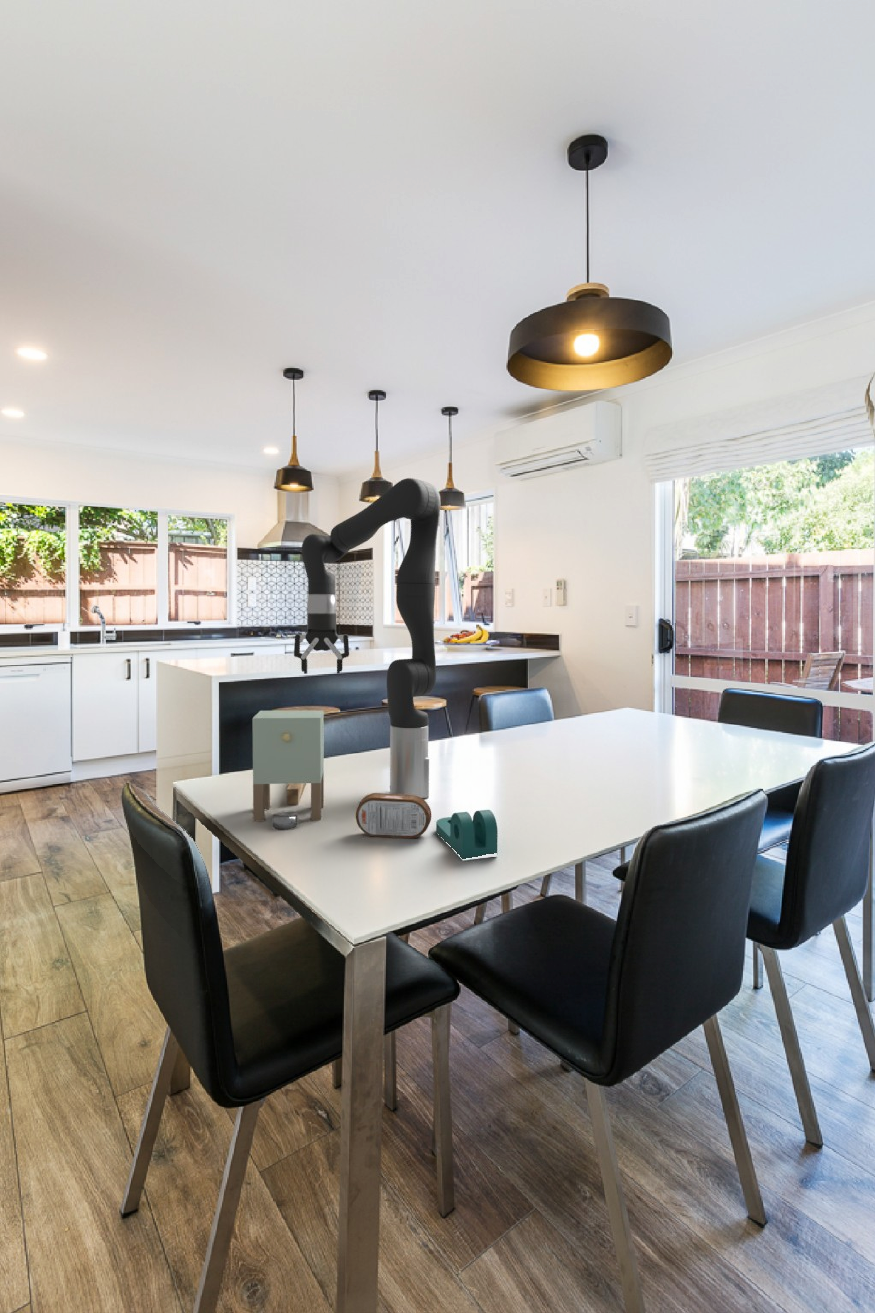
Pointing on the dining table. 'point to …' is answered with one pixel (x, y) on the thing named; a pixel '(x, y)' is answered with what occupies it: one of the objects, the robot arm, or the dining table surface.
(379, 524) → the robot arm
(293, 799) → the oak slat
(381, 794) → the tin
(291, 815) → the steel token
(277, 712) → the cabinet
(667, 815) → the dining table surface
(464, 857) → the bracket
